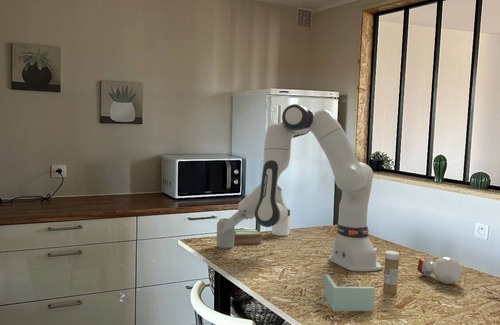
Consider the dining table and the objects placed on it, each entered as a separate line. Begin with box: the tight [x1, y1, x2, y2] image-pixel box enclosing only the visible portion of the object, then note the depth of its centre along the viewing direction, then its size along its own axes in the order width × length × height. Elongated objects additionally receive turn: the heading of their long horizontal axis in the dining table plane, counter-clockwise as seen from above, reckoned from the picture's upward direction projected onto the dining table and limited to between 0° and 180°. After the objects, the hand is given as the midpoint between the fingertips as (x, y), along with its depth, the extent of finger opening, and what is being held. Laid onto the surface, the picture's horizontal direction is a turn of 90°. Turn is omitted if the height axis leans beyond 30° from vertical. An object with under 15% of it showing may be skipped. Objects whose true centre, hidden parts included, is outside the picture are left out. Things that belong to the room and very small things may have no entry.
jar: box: [271, 208, 291, 237], centre depth 227 cm, size 9×8×12 cm
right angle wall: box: [323, 273, 376, 312], centre depth 143 cm, size 12×12×8 cm
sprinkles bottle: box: [382, 250, 401, 295], centre depth 152 cm, size 5×5×14 cm
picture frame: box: [234, 228, 262, 245], centre depth 212 cm, size 10×12×4 cm
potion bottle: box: [417, 256, 463, 285], centre depth 166 cm, size 9×10×15 cm
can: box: [216, 218, 236, 250], centre depth 201 cm, size 8×8×12 cm
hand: (225, 229), depth 201 cm, fingers open, 8 cm apart
